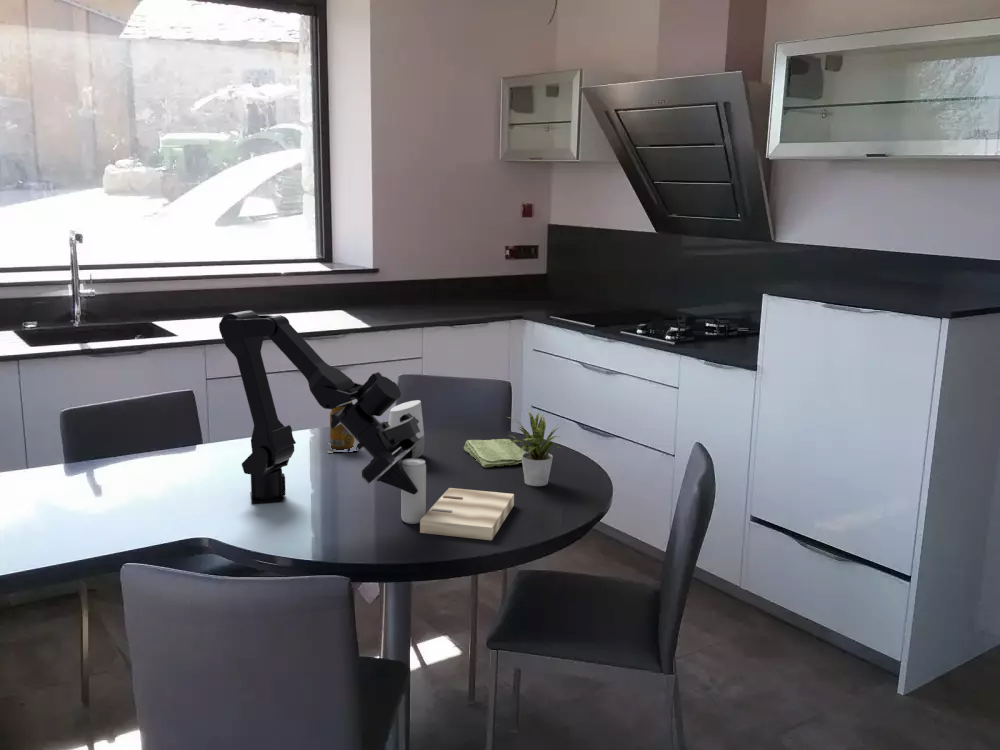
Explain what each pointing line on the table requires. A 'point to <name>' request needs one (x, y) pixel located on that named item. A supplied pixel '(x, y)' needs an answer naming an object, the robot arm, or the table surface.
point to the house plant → (536, 453)
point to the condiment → (340, 434)
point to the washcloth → (494, 452)
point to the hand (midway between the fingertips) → (420, 488)
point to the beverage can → (414, 503)
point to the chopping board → (467, 514)
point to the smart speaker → (416, 411)
